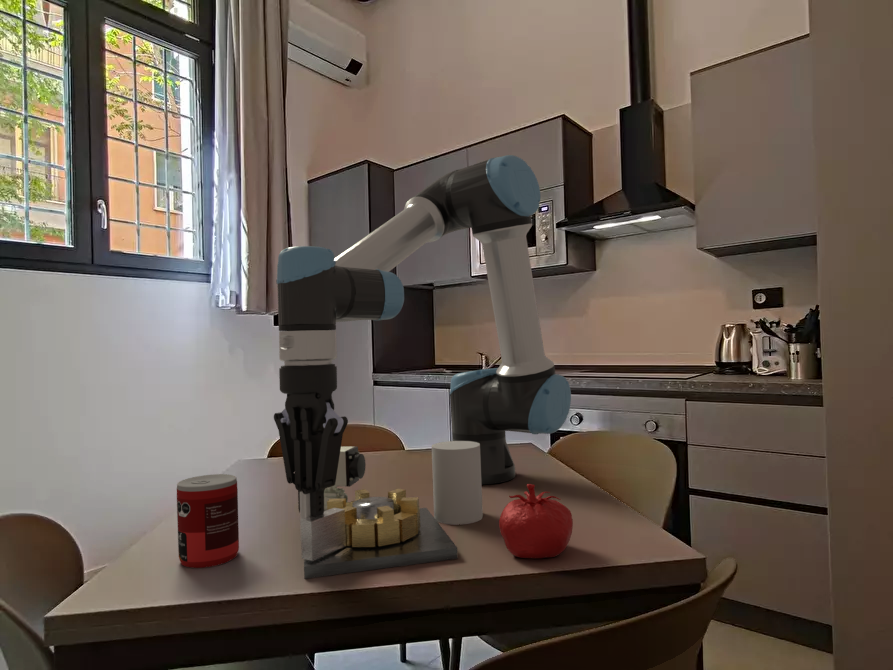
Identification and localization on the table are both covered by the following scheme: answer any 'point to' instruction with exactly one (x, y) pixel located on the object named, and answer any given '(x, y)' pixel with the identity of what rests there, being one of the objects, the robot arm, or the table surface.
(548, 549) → the red tomato
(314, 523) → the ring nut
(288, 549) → the table surface
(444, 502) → the white cylinder
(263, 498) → the table surface
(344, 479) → the pneumatic valve
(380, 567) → the base plate
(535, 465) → the table surface
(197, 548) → the canned food
